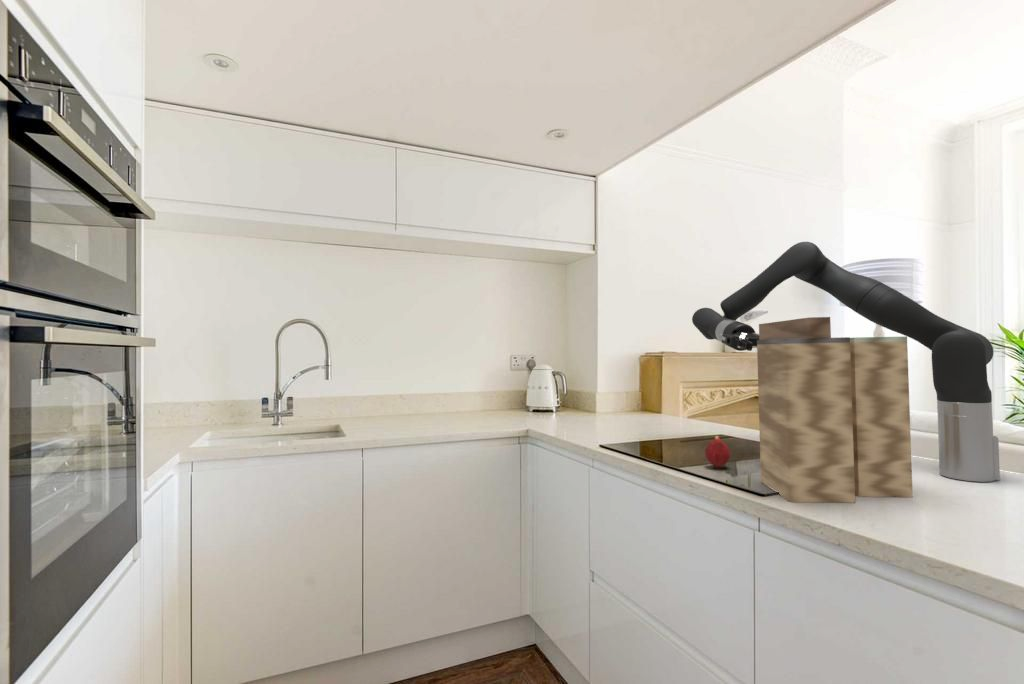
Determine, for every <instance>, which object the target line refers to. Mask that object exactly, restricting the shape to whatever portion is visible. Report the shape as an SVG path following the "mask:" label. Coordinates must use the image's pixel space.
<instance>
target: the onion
mask: <svg viewBox="0 0 1024 684" xmlns="http://www.w3.org/2000/svg"><path fill="white" fill-rule="evenodd" d="M704 455H705V457H706V459H707V460H708V462H709V463H710V465H712V466H714V467H715V468H717V469H719V468H721V467H723V466H724V465H725V464H727V462H728V461H729V460H730V458H731V457H730V456H731V451H730V448H729V446H728V444H726V442H724V441H723V440H721V438H720V437H719V436H718V435H716V436H714V439H713V440H712V441H710V442H709V443H708V444H707V445H706V448H705V451H704Z"/></svg>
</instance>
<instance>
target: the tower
mask: <svg viewBox="0 0 1024 684" xmlns="http://www.w3.org/2000/svg"><path fill="white" fill-rule="evenodd" d="M908 353H909V352H908V337H907V336H874V337H873V336H871V337H870V336H868V337H867V336H866V337H863V336H862V337H858V336H856V337H850V359H851V389H852V420H853V450H854V481H855V496H857V497H860V498H861V497H863V498H865V497H867V498H875V497H876V498H877V497H878V498H913V494H914V493H913V472H912V471H913V467H912V444H911V443H912V441H911V435H912V434H911V415H910V414H911V412H910V409H911V408H910V407H911V406H910V384H909V383H910V382H909V359H908V358H909V356H908V355H909V354H908ZM894 496H895V497H894Z"/></svg>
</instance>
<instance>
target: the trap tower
mask: <svg viewBox="0 0 1024 684" xmlns="http://www.w3.org/2000/svg"><path fill="white" fill-rule="evenodd" d="M850 338H851V337H847V336H846V337H831V338H793V339H770V340H757V348H756V350H757V351H756V353H757V354H756V355H757V357H756V358H757V359H756V360H757V388H758V391H757V393H758V419H759V420H758V421H759V422H758V423H759V424H758V427H759V429H758V430H759V454H760V456H759V459H760V462H759V463H760V483H761V482H762V483H764V484H766V485H767V486H769V487H771V488H773V489H774V490H776V491H778V492H779V494H780V495H781V496H780V495H779V494H778V495H779V496H780V497H782V498H784V499H785V500H787V501H788V502H790V503H854V504H856V495H855V481H854V450H853V420H852V389H851V359H850ZM762 483H761V484H762ZM764 484H763V485H764ZM767 486H766V487H767Z"/></svg>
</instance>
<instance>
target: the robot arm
mask: <svg viewBox="0 0 1024 684" xmlns="http://www.w3.org/2000/svg"><path fill="white" fill-rule="evenodd" d="M792 277H795V278H796V279H798V280H800V281H803V282H805V283H807V284H809V285H812V286H814V287H816V288H817V289H820V290H822V291H824V292H826V293H828V294H829V295H831V296H833V297H834V298H835V299H836V300H837V301H839V302H840V303H841V304H842V305H844V306H845V307H848V308H849V309H850V310H852V311H854V312H855V313H856V314H858V315H860V316H862V317H864V318H865V319H866V320H868V321H869V322H872V323H873V324H876V325H878V326H880V327H883V328H884V329H888V330H890V331H892V332H895V333H898V334H900V335H902V336H904V337H906V336H907V338H910V339H912V340H914V341H916V342H918V343H919V344H921V345H923V346H924V347H926V348H927V349H928V350H930V351H931V370H932V383H933V388H934V390H935V394H936V405H937V406H936V410H937V433H938V437H937V439H938V462H939V464H938V466H939V475H940V476H943V477H946V478H950V479H953V480H954V479H955V480H960V481H967V482H978V483H979V482H981V483H987V482H994V481H1000V480H1001V475H1000V473H1001V471H1000V468H1001V467H1000V447H999V437H998V436H997V435H994V424H993V420H994V419H993V418H994V417H993V402H992V401H993V399H992V390H991V388H990V386H989V381H988V373H987V372H988V371H987V370H988V369H987V365H988V364H989V363H990V362H991V361H992V359H993V356H994V347H993V344H992V343H991V342H990V340H989V339H988V338H987V337H986V336H984V335H982V334H981V333H979V332H976V331H975V330H974V331H973V330H971V329H968V328H966V327H963V326H961V325H958V324H957V323H954V322H952V321H949V320H948V319H945V318H943V317H941V316H939V315H937V314H936V313H933V312H932V311H930V310H929V309H927V308H925V307H924V306H923V305H921V304H920V303H918V302H917V301H915V300H913V299H912V298H910V297H908V296H907V295H904V294H903V293H901V292H900V291H898V290H897V289H895V288H893V287H891V286H889V285H887V284H885V283H883V282H882V281H879V280H877V279H875V278H871V277H870V276H869V277H868V276H865V275H862V274H858V273H855V272H851V271H848V270H847V269H844V268H842V267H841V266H839V264H837V263H835V262H833V261H832V260H830V259H829V258H828V257H827V256H825V254H824V253H823V251H822V250H821V249H820V247H819V246H817V245H816V244H815V243H813V242H811V241H801V242H797V243H795V244H793V245H792V246H790V247H789V248H788V249H787V250H786V251H785V252H783V253H782V254H781V255H779V256H778V258H776V260H774V262H772V263H771V264H770V265H769V266H768V267H766V268H765V269H764V270H763V271H762V272H761V273H760V274H758V275H757V276H756V277H755V278H753V279H752V280H750V281H749V282H748V283H746V284H745V285H744V286H742V287H741V288H739V289H738V290H736V291H734V292H733V293H731V294H730V295H729V296H727V297H726V298H725V299H723V300H721V302H720V305H719V306H720V309H721V310H722V312H723V315H721V314H720V313H719V312H717V311H716V310H714V309H713V308H710V307H702V308H699V309H697V310H695V312H694V313H693V315H692V317H691V321H692V324H693V326H694V327H695V328H696V329H697V330H698V331H699V332H700V333H701V335H703V337H705V339H707V340H716V341H718V342H721V344H722V345H724V346H727V347H729V348H732V349H733V350H735V351H739V352H740V351H741V352H743V351H750V352H751V351H752V350H753V349H757V340H759V333H756V331H755V329H754V328H753V327H752V326H751V325H749V324H747V323H744V322H741V321H737V320H738V319H739V318H740V317H742V316H744V315H745V314H747V313H749V312H750V311H752V310H753V309H754V308H756V307H757V306H759V304H761V303H762V302H763V301H764V300H765V299H766V298H767V297H768V296H769V294H770V293H771V292H772V291H773V290H775V289H776V287H778V286H779V285H781V284H782V283H783V282H785V281H786V280H788V279H790V278H792Z"/></svg>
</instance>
